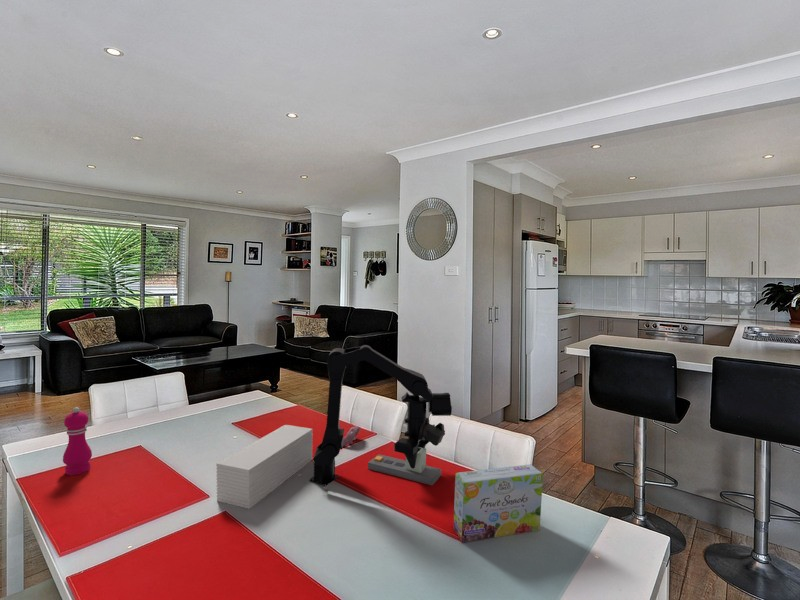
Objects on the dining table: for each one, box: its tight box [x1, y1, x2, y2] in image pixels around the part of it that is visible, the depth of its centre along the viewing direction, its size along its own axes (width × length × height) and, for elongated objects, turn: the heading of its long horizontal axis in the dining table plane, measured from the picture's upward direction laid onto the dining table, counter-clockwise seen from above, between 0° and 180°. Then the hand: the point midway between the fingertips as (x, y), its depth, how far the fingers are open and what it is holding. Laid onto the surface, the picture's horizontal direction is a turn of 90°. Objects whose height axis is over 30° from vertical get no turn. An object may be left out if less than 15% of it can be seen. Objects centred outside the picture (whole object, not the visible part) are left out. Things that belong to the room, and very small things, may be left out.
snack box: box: [453, 464, 544, 544], centre depth 105 cm, size 21×6×15 cm, turn 106°
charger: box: [405, 447, 427, 473], centre depth 131 cm, size 4×5×8 cm
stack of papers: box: [216, 424, 314, 509], centre depth 130 cm, size 32×11×11 cm, turn 161°
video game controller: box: [343, 425, 361, 447], centre depth 158 cm, size 10×5×7 cm, turn 169°
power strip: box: [367, 454, 442, 486], centre depth 133 cm, size 7×22×4 cm, turn 63°
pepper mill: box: [62, 406, 93, 476], centre depth 132 cm, size 7×7×20 cm
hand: (415, 465), depth 131 cm, fingers closed on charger, 4 cm apart
